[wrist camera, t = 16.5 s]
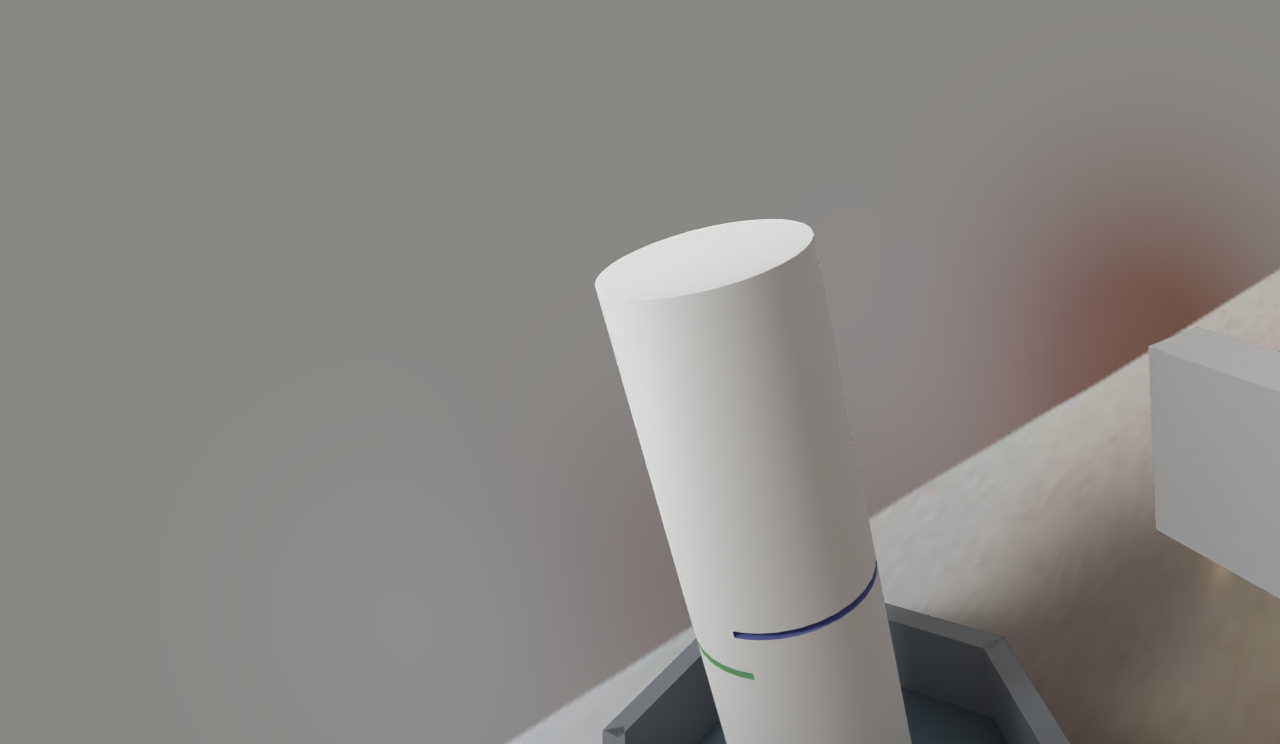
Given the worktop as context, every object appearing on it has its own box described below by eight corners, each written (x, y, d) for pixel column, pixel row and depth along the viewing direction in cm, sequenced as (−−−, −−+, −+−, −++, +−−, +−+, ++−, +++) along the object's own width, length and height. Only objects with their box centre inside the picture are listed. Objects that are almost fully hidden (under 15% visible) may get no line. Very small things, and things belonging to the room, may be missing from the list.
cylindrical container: (920, 907, 35) (792, 280, 26) (736, 886, 38) (561, 312, 29) (930, 758, 41) (828, 206, 32) (770, 749, 44) (635, 238, 35)
